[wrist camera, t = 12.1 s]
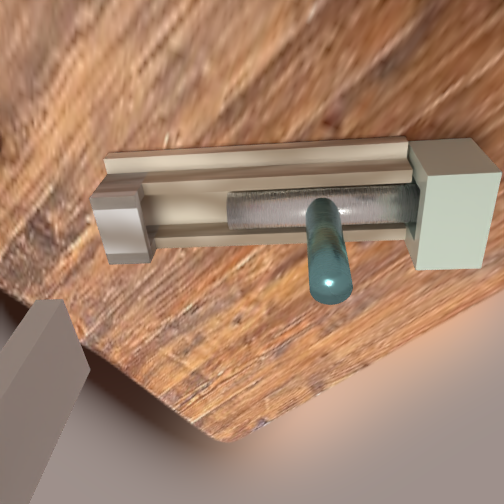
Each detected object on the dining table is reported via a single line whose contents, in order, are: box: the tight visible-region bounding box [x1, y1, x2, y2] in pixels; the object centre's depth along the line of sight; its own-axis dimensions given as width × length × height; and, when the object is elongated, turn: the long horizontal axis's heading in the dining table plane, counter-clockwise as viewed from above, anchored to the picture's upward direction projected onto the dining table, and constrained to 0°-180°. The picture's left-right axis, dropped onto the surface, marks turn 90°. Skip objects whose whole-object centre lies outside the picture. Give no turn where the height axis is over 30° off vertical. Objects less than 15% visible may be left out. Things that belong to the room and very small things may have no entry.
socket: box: [404, 138, 502, 270], centre depth 42 cm, size 9×6×8 cm, turn 5°
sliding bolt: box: [226, 184, 420, 305], centre depth 39 cm, size 3×20×14 cm, turn 95°
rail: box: [89, 136, 413, 264], centre depth 44 cm, size 10×28×6 cm, turn 95°
